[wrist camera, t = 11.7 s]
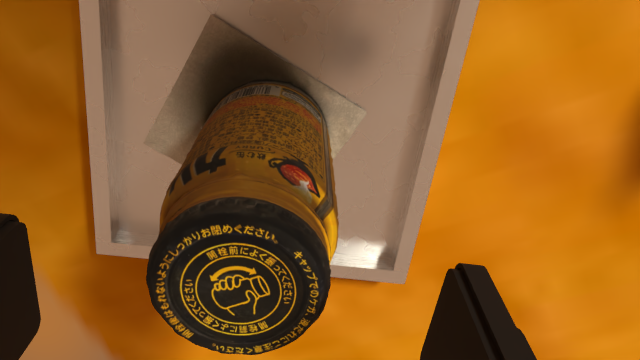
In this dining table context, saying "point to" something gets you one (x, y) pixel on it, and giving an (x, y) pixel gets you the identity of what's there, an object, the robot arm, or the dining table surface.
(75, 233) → the dining table surface
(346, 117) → the condiment
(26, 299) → the robot arm
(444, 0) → the tray
